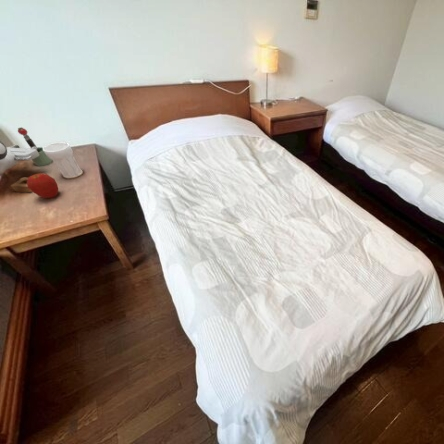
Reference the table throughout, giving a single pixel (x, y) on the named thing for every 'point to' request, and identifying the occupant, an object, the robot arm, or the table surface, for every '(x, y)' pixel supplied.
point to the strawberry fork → (26, 137)
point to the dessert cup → (41, 158)
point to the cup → (63, 159)
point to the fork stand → (21, 185)
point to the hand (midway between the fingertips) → (26, 146)
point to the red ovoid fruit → (43, 185)
